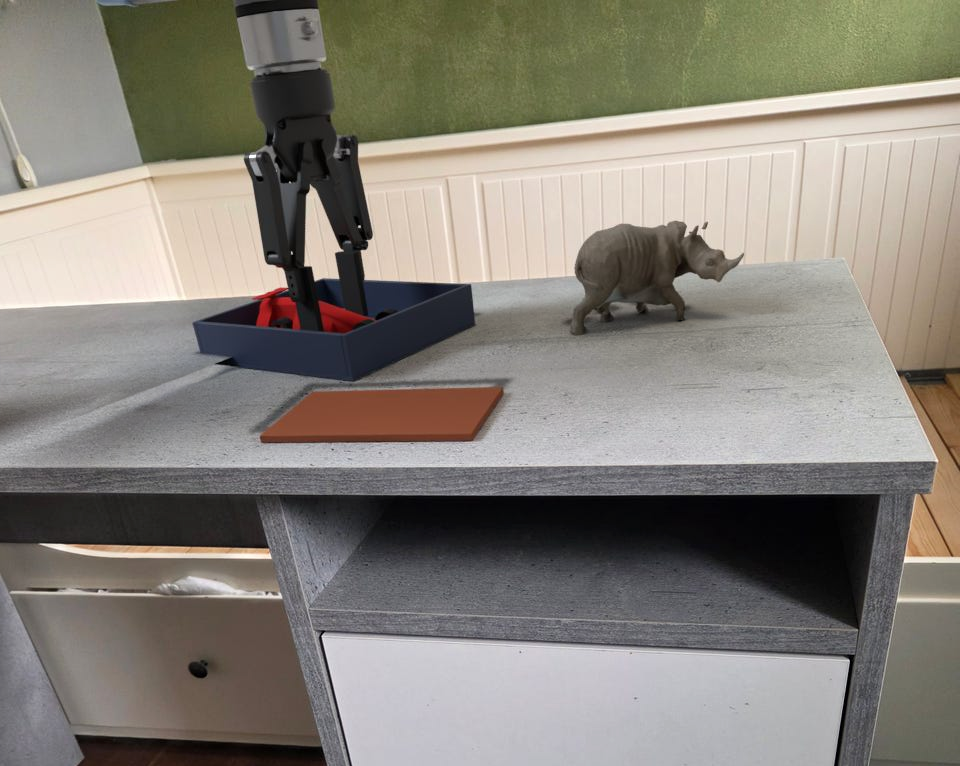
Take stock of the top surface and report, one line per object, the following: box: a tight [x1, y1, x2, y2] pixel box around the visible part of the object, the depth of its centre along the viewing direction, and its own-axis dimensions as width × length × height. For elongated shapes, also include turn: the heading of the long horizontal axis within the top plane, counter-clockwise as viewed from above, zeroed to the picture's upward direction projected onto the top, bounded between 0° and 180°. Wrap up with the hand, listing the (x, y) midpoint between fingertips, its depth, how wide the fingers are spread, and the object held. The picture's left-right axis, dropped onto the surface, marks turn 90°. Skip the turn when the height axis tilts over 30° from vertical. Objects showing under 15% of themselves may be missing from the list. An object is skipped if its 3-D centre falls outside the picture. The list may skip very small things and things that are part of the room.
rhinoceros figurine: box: [569, 220, 745, 336], centre depth 89 cm, size 8×14×15 cm
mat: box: [259, 386, 505, 443], centre depth 74 cm, size 18×11×1 cm, turn 76°
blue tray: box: [191, 277, 476, 382], centre depth 95 cm, size 22×20×4 cm
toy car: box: [252, 287, 398, 334], centre depth 94 cm, size 6×18×5 cm, turn 63°
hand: (335, 323), depth 95 cm, fingers closed on toy car, 6 cm apart
